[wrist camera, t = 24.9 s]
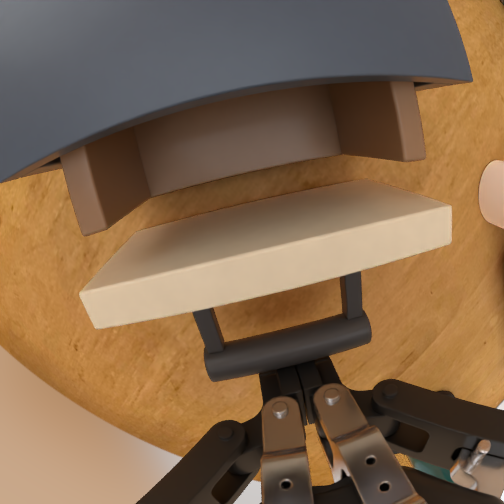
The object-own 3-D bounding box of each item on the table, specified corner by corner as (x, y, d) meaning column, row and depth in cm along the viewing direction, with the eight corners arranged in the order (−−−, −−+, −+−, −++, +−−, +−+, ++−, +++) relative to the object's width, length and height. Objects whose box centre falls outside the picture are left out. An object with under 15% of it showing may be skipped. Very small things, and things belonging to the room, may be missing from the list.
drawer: (375, 284, 14) (438, 352, 9) (173, 333, 14) (153, 424, 9) (303, -51, 8) (338, -119, 2) (89, -6, 8) (32, -59, 2)
